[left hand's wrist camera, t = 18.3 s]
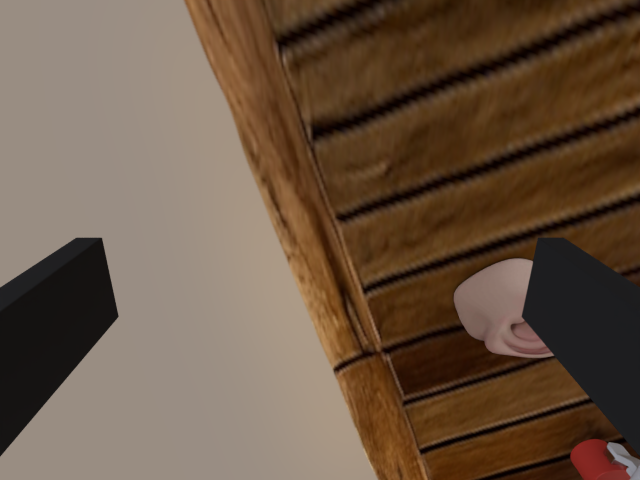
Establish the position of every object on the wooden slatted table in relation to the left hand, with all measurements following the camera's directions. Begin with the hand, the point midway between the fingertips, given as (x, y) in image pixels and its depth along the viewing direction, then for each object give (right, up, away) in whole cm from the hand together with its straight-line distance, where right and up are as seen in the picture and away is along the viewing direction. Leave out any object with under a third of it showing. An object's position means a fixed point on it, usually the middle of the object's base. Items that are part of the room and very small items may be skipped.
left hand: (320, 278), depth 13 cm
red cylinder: (+33, -25, +37) cm, 56 cm away
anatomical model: (+22, -6, +33) cm, 40 cm away
